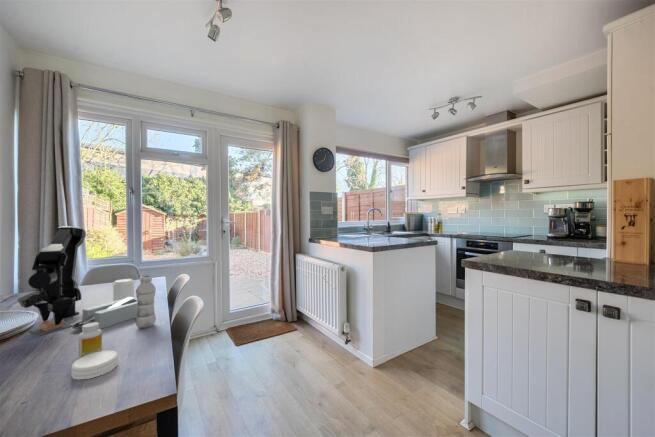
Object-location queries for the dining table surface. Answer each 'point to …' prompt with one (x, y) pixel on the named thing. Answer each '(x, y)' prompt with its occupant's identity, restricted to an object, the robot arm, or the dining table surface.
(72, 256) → the robot arm
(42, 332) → the pad
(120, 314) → the grey-green channel block
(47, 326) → the tile
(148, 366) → the dining table surface
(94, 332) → the supplement bottle
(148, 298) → the plastic bottle
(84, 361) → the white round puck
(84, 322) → the lever
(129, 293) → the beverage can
